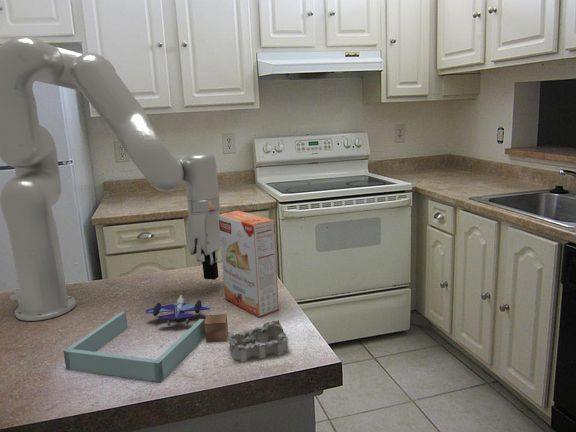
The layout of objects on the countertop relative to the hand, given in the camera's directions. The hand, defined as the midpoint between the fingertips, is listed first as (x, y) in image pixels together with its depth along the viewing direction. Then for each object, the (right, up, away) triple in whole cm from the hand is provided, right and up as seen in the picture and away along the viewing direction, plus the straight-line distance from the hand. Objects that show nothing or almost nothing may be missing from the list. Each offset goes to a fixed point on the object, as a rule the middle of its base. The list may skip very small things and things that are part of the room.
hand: (211, 278), depth 119 cm
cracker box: (+10, -5, -9) cm, 14 cm away
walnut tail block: (+5, -9, -23) cm, 25 cm away
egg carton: (+13, -10, -29) cm, 33 cm away
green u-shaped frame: (-9, -10, -27) cm, 30 cm away
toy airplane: (-5, -7, -13) cm, 16 cm away
